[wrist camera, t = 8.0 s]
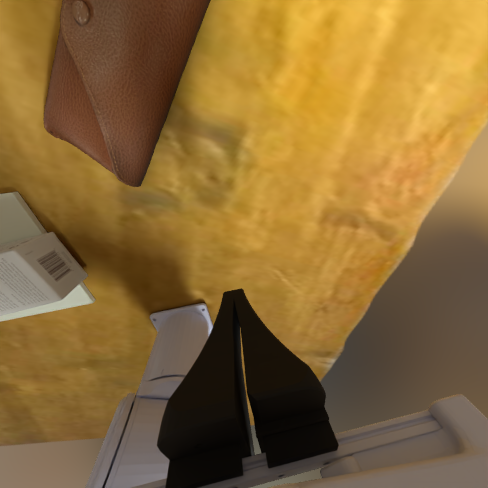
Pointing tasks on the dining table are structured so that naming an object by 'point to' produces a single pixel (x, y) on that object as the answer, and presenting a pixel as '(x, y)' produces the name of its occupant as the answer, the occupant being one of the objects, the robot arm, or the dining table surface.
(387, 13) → the dining table surface
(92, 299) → the mat
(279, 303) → the dining table surface
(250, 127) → the dining table surface
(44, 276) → the skincare box
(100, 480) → the robot arm
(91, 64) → the sunglasses case
